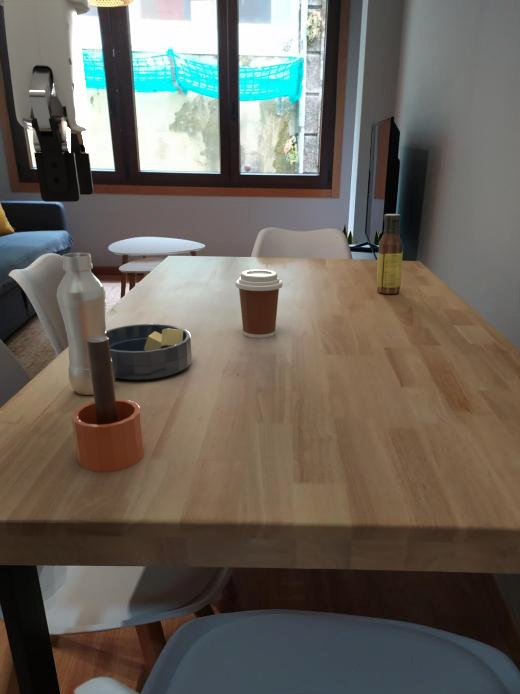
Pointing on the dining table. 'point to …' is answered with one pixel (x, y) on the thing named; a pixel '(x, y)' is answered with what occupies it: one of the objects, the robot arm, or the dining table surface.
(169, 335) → the chunk
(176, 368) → the bowl
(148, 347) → the chunk
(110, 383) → the stick
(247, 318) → the coffee cup
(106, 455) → the holder
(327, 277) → the dining table surface
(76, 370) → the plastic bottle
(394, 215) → the sauce bottle
